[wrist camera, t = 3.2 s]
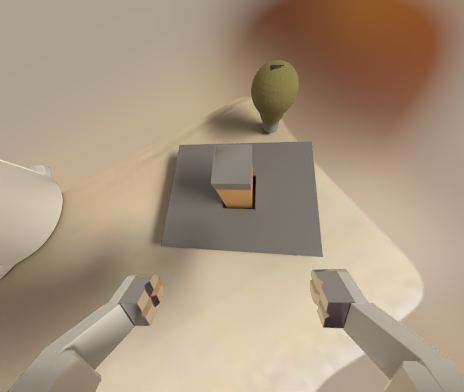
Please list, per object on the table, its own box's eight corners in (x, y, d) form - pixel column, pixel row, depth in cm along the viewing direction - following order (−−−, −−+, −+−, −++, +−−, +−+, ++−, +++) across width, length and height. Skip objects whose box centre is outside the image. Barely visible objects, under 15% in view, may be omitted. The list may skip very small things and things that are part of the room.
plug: (228, 211, 23) (210, 183, 14) (230, 186, 25) (214, 145, 15) (252, 212, 23) (250, 183, 14) (253, 186, 24) (252, 144, 15)
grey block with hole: (174, 246, 23) (160, 245, 20) (188, 157, 28) (179, 144, 24) (312, 256, 21) (322, 256, 17) (304, 156, 25) (311, 141, 22)
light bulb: (262, 149, 26) (265, 93, 17) (246, 124, 28) (242, 61, 19) (294, 135, 26) (315, 69, 17) (276, 110, 28) (287, 40, 19)
